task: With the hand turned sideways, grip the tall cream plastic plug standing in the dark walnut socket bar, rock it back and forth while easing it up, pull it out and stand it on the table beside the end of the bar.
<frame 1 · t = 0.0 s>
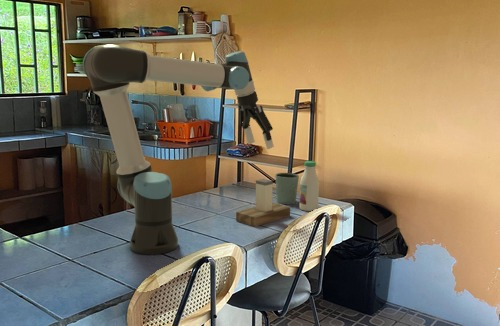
hand: (260, 145, 189), 28 cm above the kitchen counter, tool tilted 20°, fingers open, 13 cm apart
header: (263, 218, 190), on the kitchen counter
milk bottle: (308, 209, 203), on the kitchen counter
green cup: (286, 202, 214), on the kitchen counter
plug: (263, 199, 188), in the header
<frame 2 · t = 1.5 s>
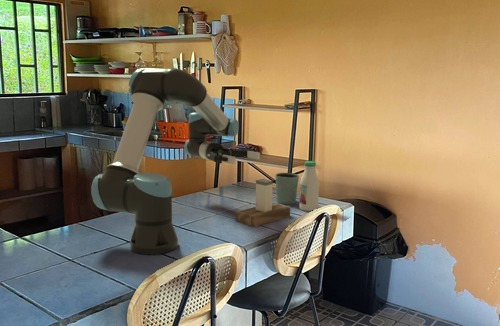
hand: (247, 158, 192), 22 cm above the kitchen counter, tool horizontal, fingers open, 13 cm apart
nothing on the kitchen counter moved.
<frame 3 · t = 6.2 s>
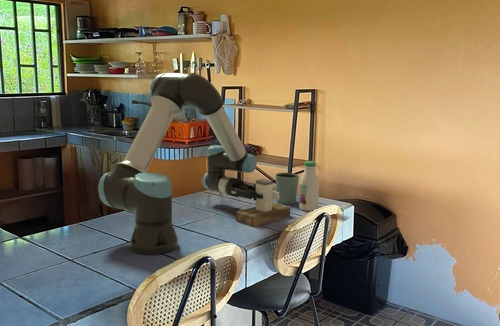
hand: (274, 197, 184), 10 cm above the kitchen counter, tool horizontal, fingers closed on plug, 4 cm apart
plug: (263, 199, 188), in the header, touching gripper
everything else where it was.
when the fingers open (11 cm above the kitchen counter, at t = 13.3 s): plug drops 2 cm, on the kitchen counter.
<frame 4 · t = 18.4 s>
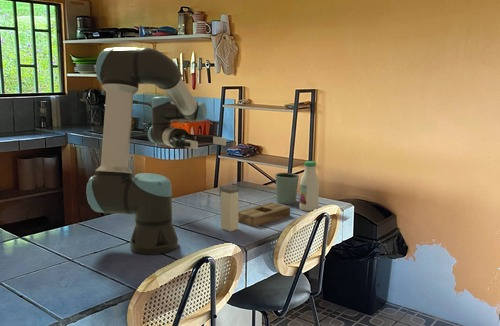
hand: (211, 143, 178), 30 cm above the kitchen counter, tool horizontal, fingers open, 13 cm apart
plug: (229, 208, 176), on the kitchen counter
everything else where it was.
at the end: plug inside the target area (0.1 cm from its centre), on the kitchen counter; plug tilted 0°; the gripper is holding nothing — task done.
